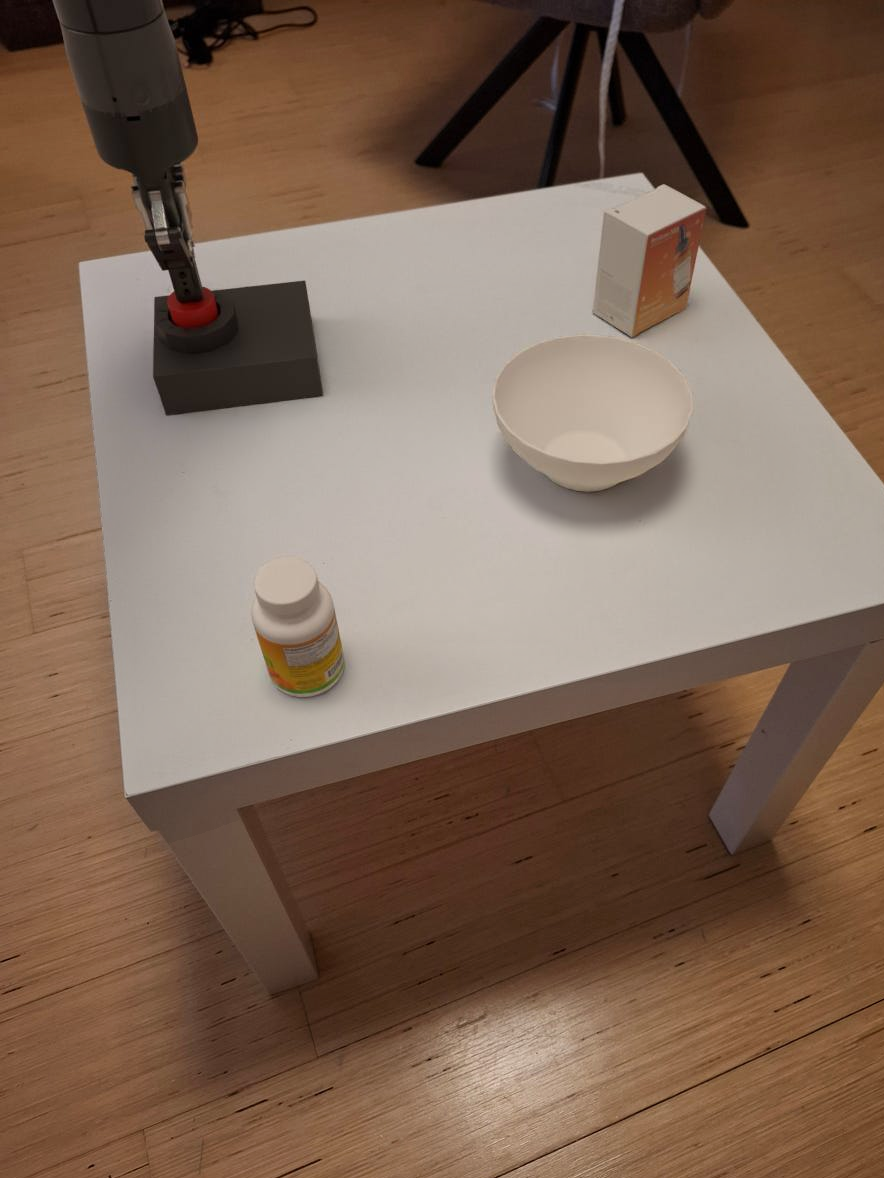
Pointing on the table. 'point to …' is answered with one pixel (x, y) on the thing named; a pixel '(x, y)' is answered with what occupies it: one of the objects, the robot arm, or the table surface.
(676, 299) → the small box
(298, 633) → the supplement bottle
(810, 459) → the table surface
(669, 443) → the bowl
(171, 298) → the power button
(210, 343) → the red push button box
